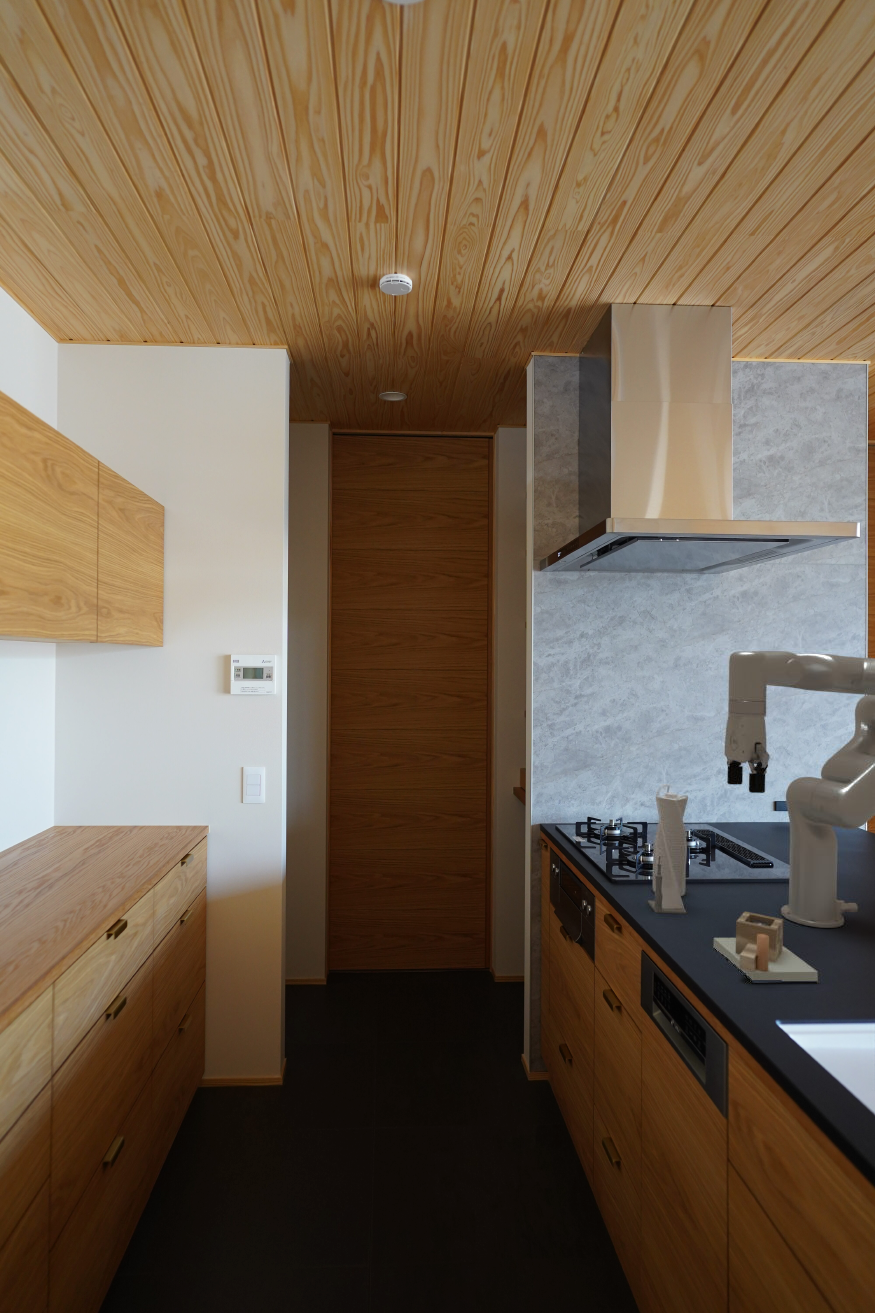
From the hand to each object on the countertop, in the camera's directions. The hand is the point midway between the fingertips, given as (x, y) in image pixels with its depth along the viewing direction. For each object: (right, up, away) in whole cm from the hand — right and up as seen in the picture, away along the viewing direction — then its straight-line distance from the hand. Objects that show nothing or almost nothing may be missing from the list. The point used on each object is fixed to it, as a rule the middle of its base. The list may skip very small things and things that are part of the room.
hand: (745, 788), depth 158 cm
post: (-4, -28, -17) cm, 33 cm away
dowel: (-8, -28, -25) cm, 39 cm away
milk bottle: (-9, -30, +24) cm, 39 cm away
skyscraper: (-12, -30, +13) cm, 35 cm away
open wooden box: (-7, -28, -20) cm, 35 cm away
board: (-4, -30, -18) cm, 36 cm away
